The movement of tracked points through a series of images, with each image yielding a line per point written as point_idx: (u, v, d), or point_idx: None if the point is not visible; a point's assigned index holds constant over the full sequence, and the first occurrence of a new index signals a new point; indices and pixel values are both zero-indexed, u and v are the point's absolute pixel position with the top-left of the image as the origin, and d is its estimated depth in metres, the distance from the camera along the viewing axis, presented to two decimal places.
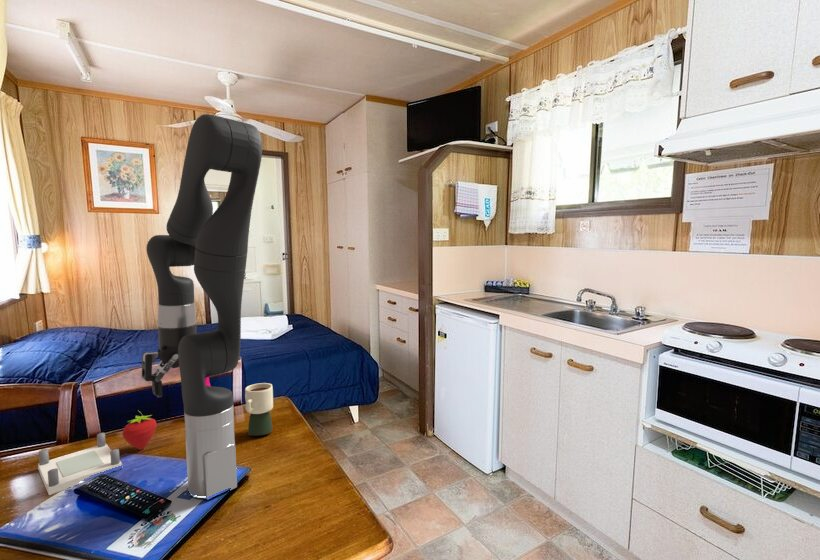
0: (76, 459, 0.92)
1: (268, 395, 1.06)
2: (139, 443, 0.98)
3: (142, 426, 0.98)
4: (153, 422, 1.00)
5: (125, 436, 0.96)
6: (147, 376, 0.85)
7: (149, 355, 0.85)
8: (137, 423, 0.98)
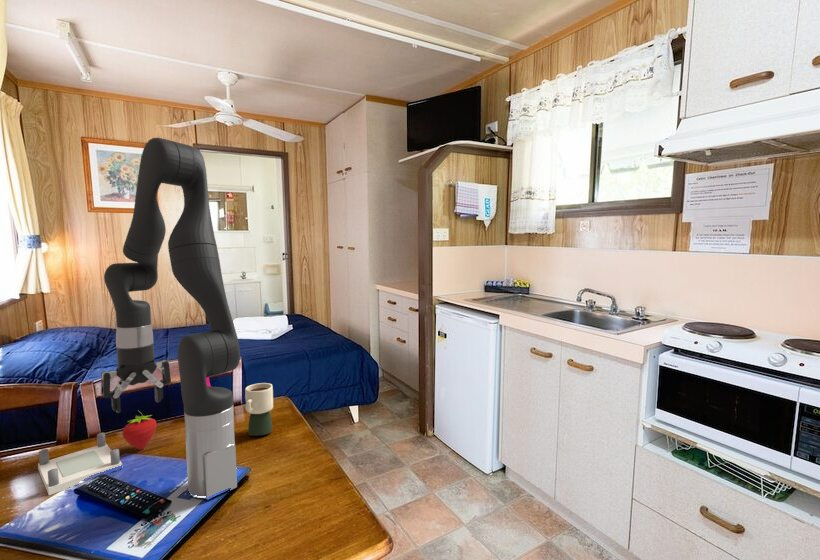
0: (76, 459, 0.92)
1: (268, 395, 1.06)
2: (139, 443, 0.98)
3: (142, 426, 0.98)
4: (153, 422, 1.00)
5: (125, 436, 0.96)
6: (105, 393, 0.93)
7: (107, 374, 0.93)
8: (137, 423, 0.98)
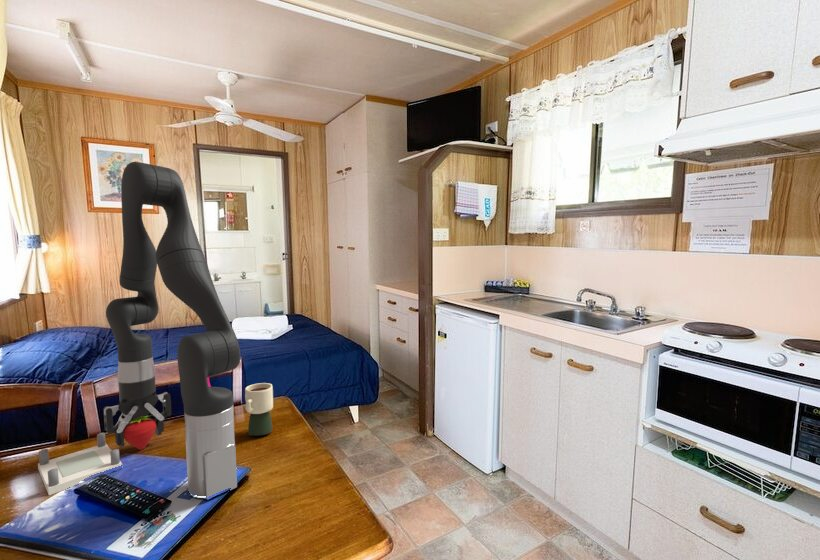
0: (76, 459, 0.92)
1: (268, 395, 1.06)
2: (139, 443, 0.98)
3: (142, 426, 0.98)
4: (153, 422, 1.00)
5: (125, 436, 0.96)
6: (109, 428, 0.93)
7: (109, 409, 0.93)
8: (137, 423, 0.98)
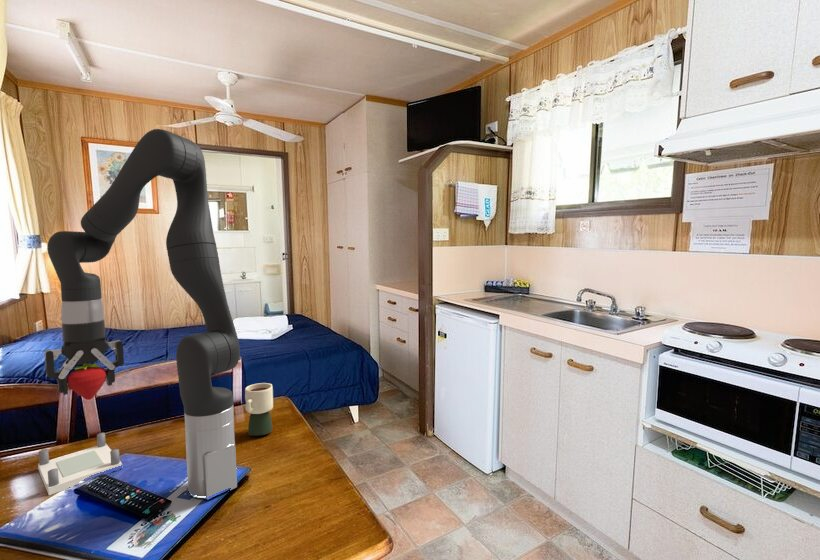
0: (76, 459, 0.92)
1: (268, 395, 1.06)
2: (85, 391, 0.89)
3: (88, 373, 0.89)
4: (102, 370, 0.92)
5: (69, 383, 0.88)
6: (49, 373, 0.85)
7: (49, 352, 0.85)
8: (83, 370, 0.90)
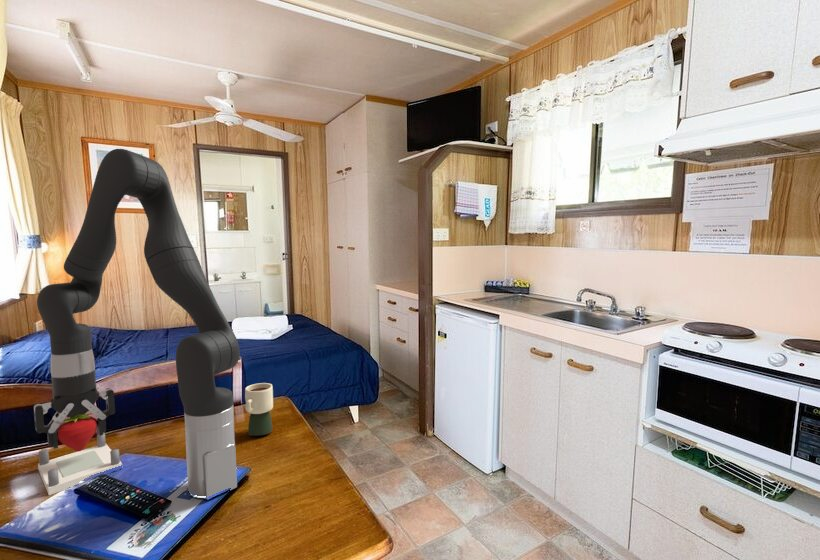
0: (76, 459, 0.92)
1: (268, 395, 1.06)
2: (75, 444, 0.88)
3: (79, 425, 0.88)
4: (93, 421, 0.91)
5: (59, 436, 0.87)
6: (39, 428, 0.84)
7: (39, 407, 0.84)
8: (73, 422, 0.88)
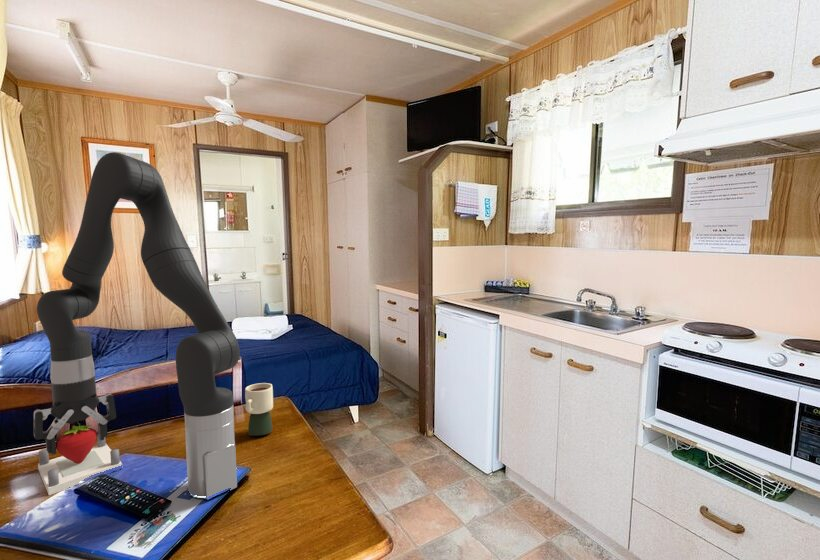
0: None
1: (268, 395, 1.06)
2: (75, 456, 0.88)
3: (78, 437, 0.88)
4: (92, 433, 0.91)
5: (58, 449, 0.87)
6: (37, 434, 0.84)
7: (39, 413, 0.84)
8: (73, 434, 0.88)
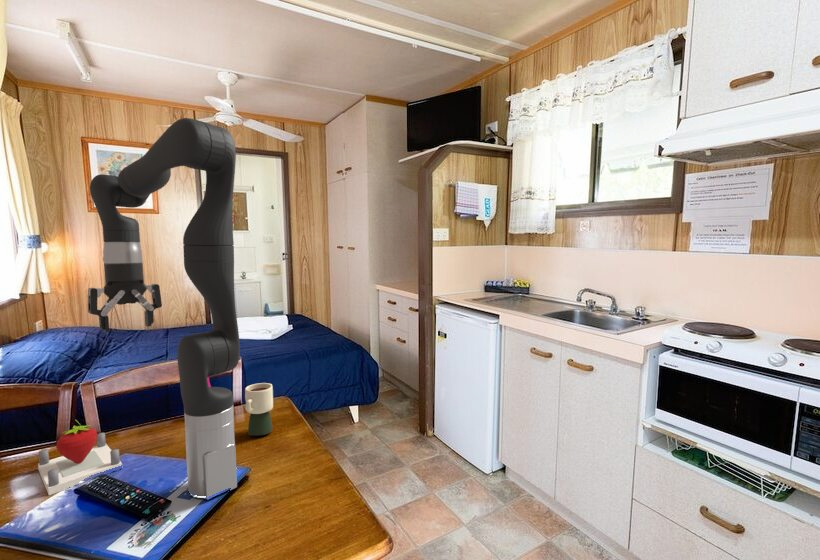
0: None
1: (268, 395, 1.06)
2: (75, 456, 0.88)
3: (79, 437, 0.88)
4: (93, 433, 0.91)
5: (59, 449, 0.87)
6: (92, 309, 0.89)
7: (94, 289, 0.89)
8: (73, 434, 0.88)
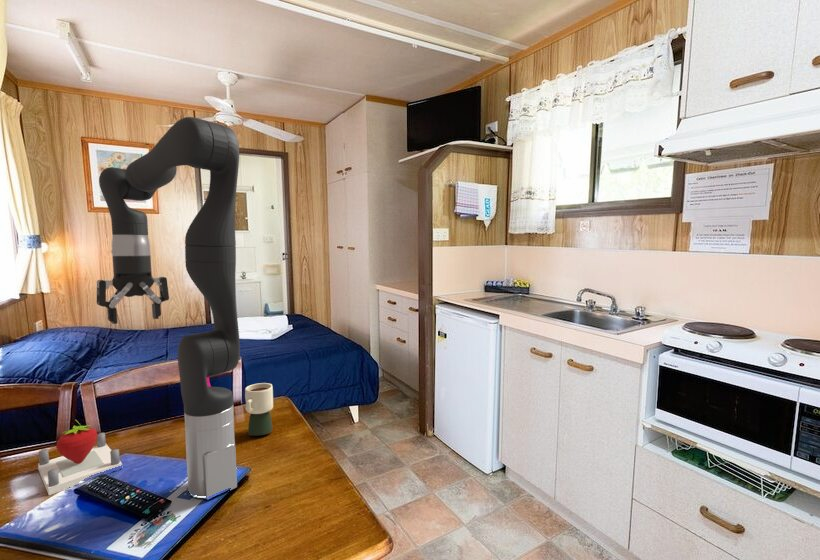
0: None
1: (268, 395, 1.06)
2: (75, 456, 0.88)
3: (79, 437, 0.88)
4: (93, 433, 0.91)
5: (59, 449, 0.87)
6: (101, 301, 0.90)
7: (103, 281, 0.90)
8: (73, 434, 0.88)
